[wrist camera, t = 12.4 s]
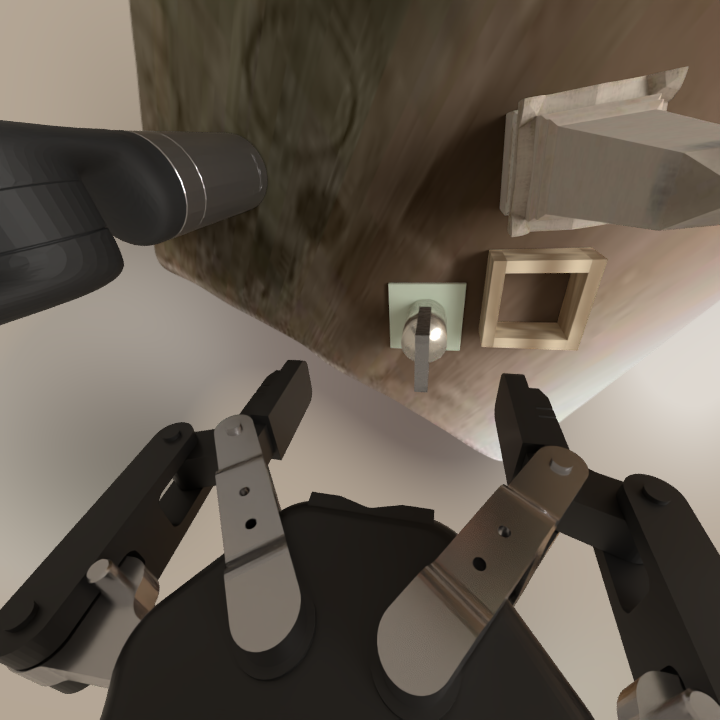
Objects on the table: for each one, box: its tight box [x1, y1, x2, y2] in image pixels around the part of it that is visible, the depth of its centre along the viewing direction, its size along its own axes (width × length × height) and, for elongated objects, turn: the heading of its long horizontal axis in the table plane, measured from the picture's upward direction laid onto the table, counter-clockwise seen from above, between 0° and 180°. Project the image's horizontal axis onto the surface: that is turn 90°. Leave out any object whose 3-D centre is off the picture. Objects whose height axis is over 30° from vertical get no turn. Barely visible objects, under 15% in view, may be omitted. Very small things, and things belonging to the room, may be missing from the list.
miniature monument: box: [500, 66, 720, 237], centre depth 25 cm, size 10×10×30 cm
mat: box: [388, 283, 466, 351], centre depth 50 cm, size 11×11×1 cm
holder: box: [479, 247, 608, 350], centre depth 43 cm, size 12×12×5 cm
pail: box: [401, 299, 447, 392], centre depth 44 cm, size 6×8×13 cm
